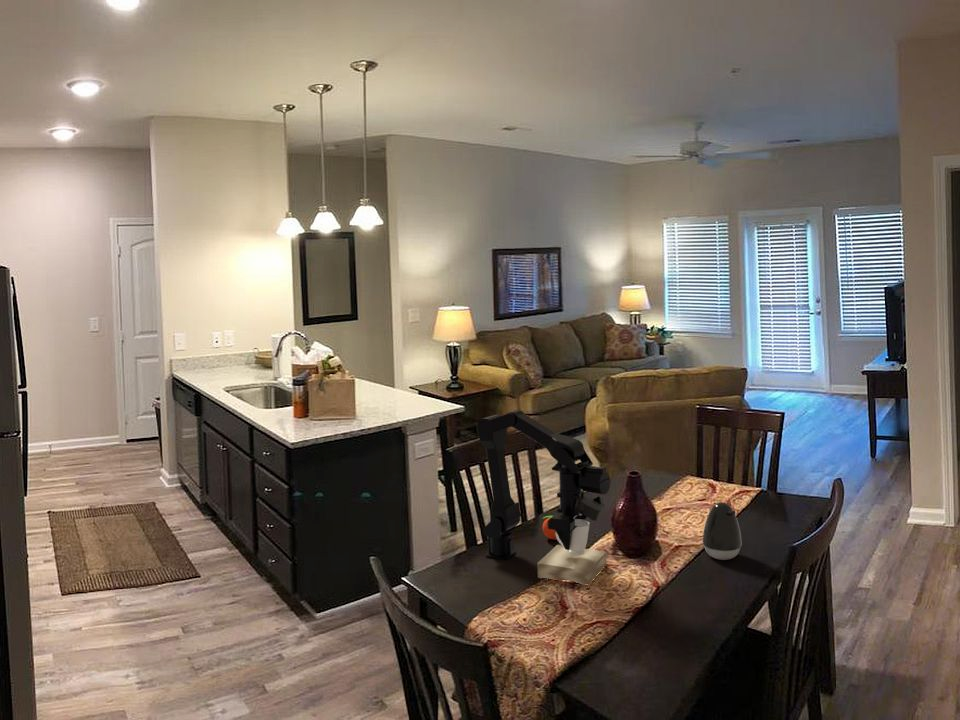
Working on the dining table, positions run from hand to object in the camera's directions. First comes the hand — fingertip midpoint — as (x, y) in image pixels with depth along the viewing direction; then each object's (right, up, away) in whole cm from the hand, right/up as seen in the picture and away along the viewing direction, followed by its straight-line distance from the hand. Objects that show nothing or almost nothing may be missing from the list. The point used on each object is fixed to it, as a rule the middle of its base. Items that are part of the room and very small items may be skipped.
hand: (571, 545), depth 209 cm
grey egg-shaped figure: (+42, -5, +8) cm, 43 cm away
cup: (0, -2, 0) cm, 2 cm away
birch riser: (0, -7, +1) cm, 7 cm away
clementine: (-3, -4, +26) cm, 26 cm away
